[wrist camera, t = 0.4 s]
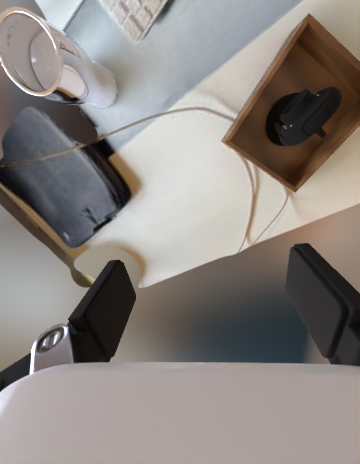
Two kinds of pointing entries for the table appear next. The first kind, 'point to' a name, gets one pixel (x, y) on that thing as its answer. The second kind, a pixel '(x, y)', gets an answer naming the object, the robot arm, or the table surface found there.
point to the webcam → (302, 115)
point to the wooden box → (295, 81)
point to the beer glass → (51, 62)
